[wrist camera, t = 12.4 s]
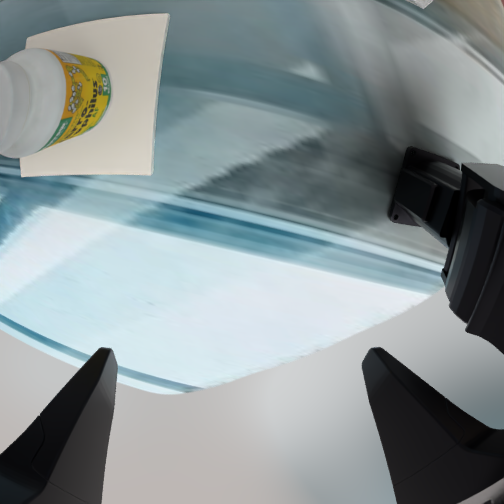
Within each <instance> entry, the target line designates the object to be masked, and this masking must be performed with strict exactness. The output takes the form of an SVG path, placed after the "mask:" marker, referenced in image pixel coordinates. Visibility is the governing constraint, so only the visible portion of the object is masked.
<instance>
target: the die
mask: <svg viewBox="0 0 504 504" xmlns="http://www.w3.org/2000/svg"><path fill="white" fill-rule="evenodd" d="M406 1H408V2H410V3H412V4H414V5H417V6H419V7H421V8H423V9H424V8H425V7H426V6H427V5H429V4H430V3H431V2H432V1H433V0H406Z"/></svg>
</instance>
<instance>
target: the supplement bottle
mask: <svg viewBox="0 0 504 504" xmlns="http://www.w3.org/2000/svg"><path fill="white" fill-rule="evenodd" d="M112 99H113V83H112V77H111V74H110V72H109V70H108V69H107V67H106V66H105V65H104V64H103V63H101V62H100V61H98V60H96V59H93V58H89V57H85V56H81V55H76V54H71V53H65V52H60V51H54V50H48V49H41V48H30V49H25V50H22V51H19V52H17V53H15V54H13V55H12V56H10V57H9V58H8V59H7V60H5V61H0V154H1V155H3V156H6V157H9V158H22V157H26V156H29V155H32V154H34V153H37V152H39V151H41V150H43V149H46V148H48V147H50V146H53V145H56V144H58V143H61V142H63V141H66V140H68V139H71V138H74V137H76V136H79V135H82V134H84V133H86V132H88V131H90V130H92V129H94V128H95V127H96V126H97V125H99V124H100V122H101V121H102V120H103V119H104V117H105V116H106V114H107V112H108V110H109V108H110V105H111V103H112Z"/></svg>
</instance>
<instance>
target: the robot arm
mask: <svg viewBox="0 0 504 504" xmlns="http://www.w3.org/2000/svg"><path fill="white" fill-rule="evenodd" d="M412 151H413V155H411V152H412ZM394 215H396V217H395V218H394ZM389 219H390V220H391V221H392V222H394V223H399V224H406V225H412V226H418V227H422V228H424V229H425V230H426V231H427V232H429V233H430V234H431V235H432V236H434V237H435V238H436V239H437V240H438V241H440V242H441V243H442V244H443V245H444V246H445V247H447V248H448V249H449V250H448V254H447V258H446V262H445V266H444V268H443V269H442V272H441V277H442V279H443V282H444V284H445V292H446V294H447V297H448V299H449V301H450V304H449V307H450V309H451V310H452V311H453V312H454V314H455V315H456V316H457V317H458V318H459V319H461V320H462V321H463V322H464V323H466V324H467V327H466V329H465V331H466V332H467V333H470V334H473V335H477V336H479V337H482V338H483V339H485V340H487V341H489V342H490V343H491V344H493V345H494V346H495V347H496V348H497V349H499V351H501V352H502V353H503V354H504V166H501V165H498V164H484V163H462V165H461V171H460V166H459V164H457V163H455V162H452V161H450V160H447V159H445V158H442V157H440V156H437V155H435V154H432V153H429V152H427V151H424V150H421V149H418V148H415V147H413V146H410V147H408V148H407V150H406V154H405V159H404V163H403V167H402V171H401V174H400V178H399V182H398V185H397V189H396V192H395V196H394V200H393V203H392V207H391V210H390V213H389ZM362 370H363V375H364V380H365V385H366V389H367V394H368V399H369V403H370V406H371V409H372V412H373V416H374V419H375V422H376V426H377V429H378V432H379V436H380V439H381V443H382V446H383V450H384V453H385V457H386V461H387V465H388V468H389V472H390V476H391V480H392V484H393V488H394V492H395V497H396V501H397V504H504V429H502V430H499V429H493V428H490V427H488V426H486V425H485V424H483V423H481V422H480V421H478V420H476V419H475V418H474V417H472V416H470V415H469V414H467V413H466V412H464V411H463V410H461V409H460V408H459V407H457V406H456V405H455V404H453V403H452V402H450V401H449V400H448V399H447V398H445V397H444V396H443V395H442V394H440V393H439V392H438V391H437V390H435V389H434V388H433V387H431V386H430V385H429V384H428V383H426V382H425V381H424V380H422V379H421V378H420V377H419V376H417V375H416V374H415V373H413V372H412V371H411V370H410V369H408V368H407V367H406V366H405V365H403V364H402V363H401V362H399V361H398V360H397V359H396V358H394V357H393V356H392V355H390V354H389V353H388V352H387V351H385V350H384V349H383V348H381V347H374V348H371V349H370V350H369V351H368V353H367V355H366V356H365V358H364V360H363V362H362ZM117 371H118V366H117V362H116V359H115V355H114V352H113V350H112V349H111V348H104V347H101V348H99V349H98V350H97V351H96V352H95V353H94V354H93V355H92V356H91V358H90V359H89V360H88V361H87V362H86V363H85V364H84V365H83V366H82V367H81V368H80V369H79V371H78V372H77V373H76V374H75V375H74V376H73V377H72V378H71V379H70V380H69V382H68V383H67V384H66V385H65V386H64V387H63V388H62V390H60V392H59V393H58V394H57V395H56V396H55V397H54V398H53V400H52V401H51V402H50V403H49V404H48V405H47V406H46V407H45V409H44V410H43V411H42V412H41V413H40V416H38V417H37V418H36V419H35V420H34V421H33V422H32V424H31V425H30V426H29V427H28V428H27V429H26V430H25V431H24V432H23V433H22V434H21V435H20V436H19V437H18V438H17V439H16V441H14V442H13V443H12V444H11V445H10V446H9V447H8V448H7V449H6V450H5V451H3V453H1V454H0V504H101V502H102V491H103V481H104V472H105V464H106V456H107V449H108V442H109V436H110V430H111V424H112V419H113V413H114V405H115V392H116V381H117Z"/></svg>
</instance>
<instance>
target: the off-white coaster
mask: <svg viewBox="0 0 504 504" xmlns="http://www.w3.org/2000/svg"><path fill="white" fill-rule="evenodd" d="M169 21H170V15H169V13H160V14H143V15H131V16H122V17H114V18H107V19H100V20H94V21H89V22H84V23H79V24H74V25H70V26H66V27H62V28H58V29H54V30H50V31H47V32H43V33H40V34H37V35H34V36H31V37H28V38H27V41H26V47H25V49H30V48H41V49H48V50H54V51H60V52H65V53H71V54H76V55H81V56H85V57H89V58H93V59H96V60H98V61H100V62H101V63H103V64H104V65H105V66H106V67H107V69H108V70H109V72H110V74H111V77H112V83H113V99H112V103H111V105H110V108H109V110H108V112H107V114H106V116H105V117H104V119H103V120H102V121H101V122H100V124H99V125H97V126H96V127H95V128H94V129H92V130H90V131H88V132H86V133H84V134H82V135H79V136H76V137H74V138H71V139H68V140H66V141H63V142H61V143H58V144H56V145H53V146H50V147H48V148H46V149H43V150H41V151H39V152H37V153H34V154H32V155H29V156H26V157H22V158H20V168H21V177H32V176H52V175H152V173H153V171H154V147H155V131H156V118H157V106H158V96H159V87H160V78H161V71H162V63H163V56H164V50H165V43H166V37H167V32H168V26H169Z"/></svg>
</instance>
